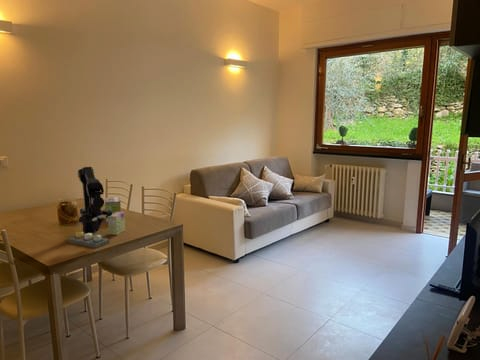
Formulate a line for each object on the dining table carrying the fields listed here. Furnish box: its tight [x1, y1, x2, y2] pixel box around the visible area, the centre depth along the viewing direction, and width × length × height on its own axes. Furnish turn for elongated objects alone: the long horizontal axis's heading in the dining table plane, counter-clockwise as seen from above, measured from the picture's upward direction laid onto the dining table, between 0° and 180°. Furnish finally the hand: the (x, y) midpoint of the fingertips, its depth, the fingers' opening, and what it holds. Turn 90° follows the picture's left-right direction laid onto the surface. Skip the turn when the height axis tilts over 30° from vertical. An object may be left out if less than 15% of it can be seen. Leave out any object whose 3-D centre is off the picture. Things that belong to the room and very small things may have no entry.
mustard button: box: [75, 230, 85, 239], centre depth 207 cm, size 4×4×3 cm
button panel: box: [67, 235, 111, 249], centre depth 205 cm, size 10×22×2 cm, turn 64°
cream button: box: [84, 233, 93, 240], centre depth 204 cm, size 4×4×3 cm
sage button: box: [92, 234, 102, 243], centre depth 201 cm, size 4×4×3 cm
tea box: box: [104, 196, 122, 224], centre depth 249 cm, size 15×10×15 cm
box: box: [107, 211, 126, 236], centre depth 222 cm, size 10×6×12 cm, turn 171°
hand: (96, 230), depth 201 cm, fingers closed
